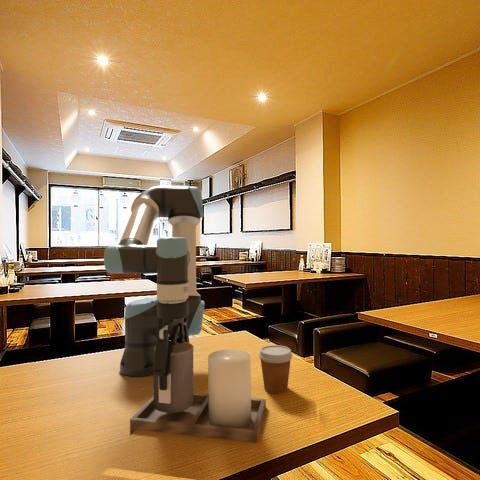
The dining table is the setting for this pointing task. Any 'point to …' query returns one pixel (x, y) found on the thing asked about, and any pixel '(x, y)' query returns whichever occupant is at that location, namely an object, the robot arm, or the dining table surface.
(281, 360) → the disposable coffee cup
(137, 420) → the candle tray
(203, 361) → the dining table surface
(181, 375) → the pillar candle
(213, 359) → the ivory candle
